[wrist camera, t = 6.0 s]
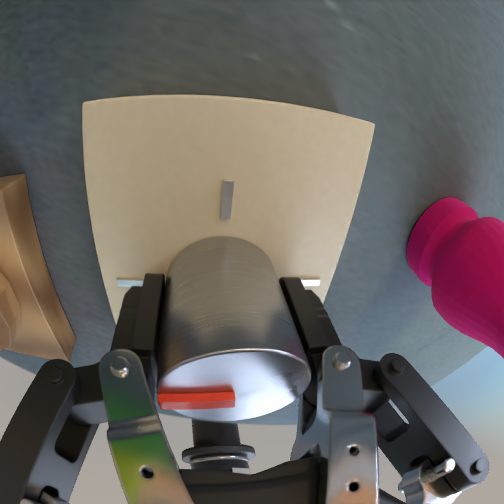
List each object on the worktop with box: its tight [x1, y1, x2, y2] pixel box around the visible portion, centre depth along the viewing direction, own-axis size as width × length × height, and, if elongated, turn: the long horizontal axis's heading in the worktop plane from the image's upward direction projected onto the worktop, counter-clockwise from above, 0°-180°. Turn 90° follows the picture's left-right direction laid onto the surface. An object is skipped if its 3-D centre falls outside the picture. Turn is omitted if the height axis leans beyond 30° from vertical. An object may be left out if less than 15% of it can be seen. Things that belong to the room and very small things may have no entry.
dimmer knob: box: [157, 236, 311, 421], centre depth 9 cm, size 4×4×5 cm
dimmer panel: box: [82, 95, 375, 325], centre depth 12 cm, size 14×10×3 cm
